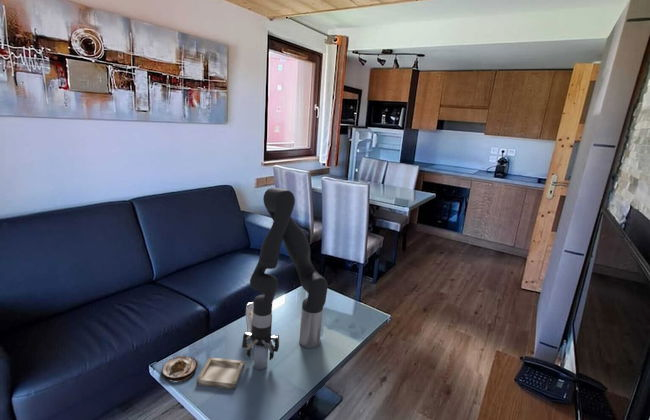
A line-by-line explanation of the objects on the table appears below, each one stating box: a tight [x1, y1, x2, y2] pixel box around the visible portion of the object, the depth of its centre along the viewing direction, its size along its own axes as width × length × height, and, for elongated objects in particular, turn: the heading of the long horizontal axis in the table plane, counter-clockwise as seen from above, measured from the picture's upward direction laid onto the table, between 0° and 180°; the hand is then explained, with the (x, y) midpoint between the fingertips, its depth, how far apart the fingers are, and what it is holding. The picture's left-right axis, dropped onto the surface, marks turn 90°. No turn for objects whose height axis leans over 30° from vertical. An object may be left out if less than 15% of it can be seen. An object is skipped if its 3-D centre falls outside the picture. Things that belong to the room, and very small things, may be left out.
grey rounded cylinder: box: [253, 344, 269, 371], centre depth 133 cm, size 6×6×9 cm
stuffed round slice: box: [161, 355, 200, 382], centre depth 127 cm, size 15×15×4 cm
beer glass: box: [245, 301, 254, 340], centre depth 150 cm, size 7×7×15 cm
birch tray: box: [196, 356, 245, 390], centre depth 126 cm, size 14×12×2 cm
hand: (260, 357), depth 133 cm, fingers open, 8 cm apart
